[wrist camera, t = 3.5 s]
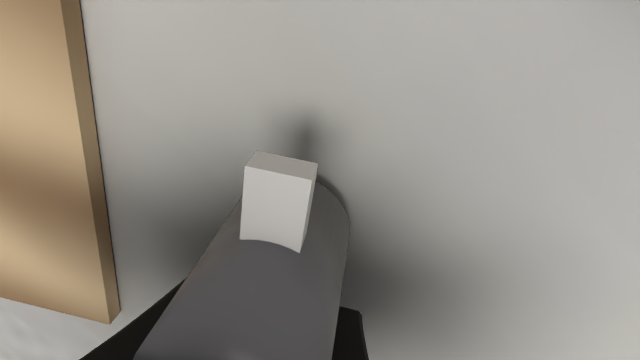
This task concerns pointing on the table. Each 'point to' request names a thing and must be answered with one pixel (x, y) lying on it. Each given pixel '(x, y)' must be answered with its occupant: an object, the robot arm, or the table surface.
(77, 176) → the cork coaster
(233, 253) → the usb plug
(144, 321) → the robot arm
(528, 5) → the table surface
